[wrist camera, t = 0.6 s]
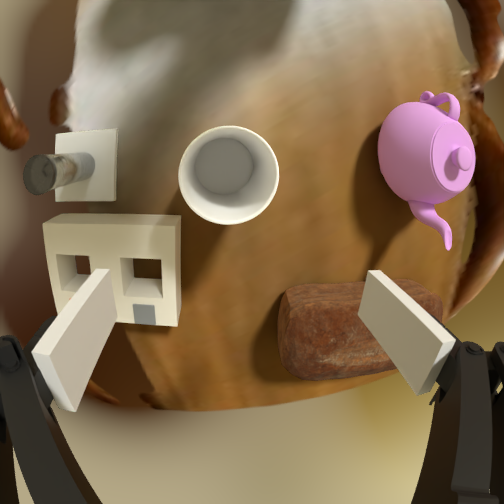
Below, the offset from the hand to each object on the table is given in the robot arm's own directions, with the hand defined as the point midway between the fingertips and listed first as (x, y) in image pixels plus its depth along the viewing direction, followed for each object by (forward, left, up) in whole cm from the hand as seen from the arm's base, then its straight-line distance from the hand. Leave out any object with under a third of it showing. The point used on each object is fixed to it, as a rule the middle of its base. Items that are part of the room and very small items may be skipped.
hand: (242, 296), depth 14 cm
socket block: (+9, -16, -27) cm, 32 cm away
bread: (+17, +22, -28) cm, 39 cm away
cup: (-5, -1, -27) cm, 28 cm away
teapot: (-10, +27, -27) cm, 40 cm away
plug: (-5, -21, -26) cm, 34 cm away
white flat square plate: (-5, -21, -27) cm, 34 cm away
